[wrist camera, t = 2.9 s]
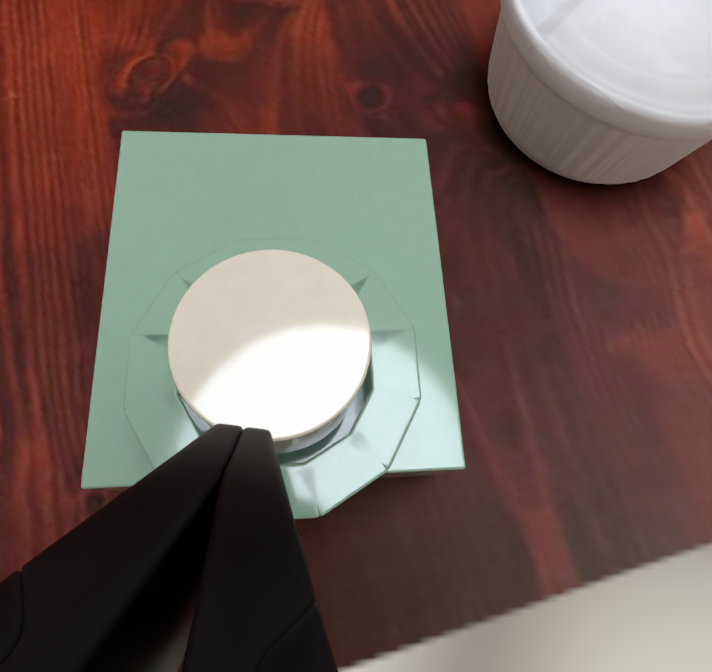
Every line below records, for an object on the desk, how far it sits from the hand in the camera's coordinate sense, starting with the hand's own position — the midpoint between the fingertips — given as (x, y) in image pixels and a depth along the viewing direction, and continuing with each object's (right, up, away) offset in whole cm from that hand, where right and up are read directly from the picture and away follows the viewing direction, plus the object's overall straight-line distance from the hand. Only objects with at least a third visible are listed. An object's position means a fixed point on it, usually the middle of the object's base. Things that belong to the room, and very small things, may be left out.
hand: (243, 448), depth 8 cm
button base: (-1, +2, +10) cm, 11 cm away
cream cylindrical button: (0, +1, +4) cm, 4 cm away
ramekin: (+12, +13, +16) cm, 24 cm away
